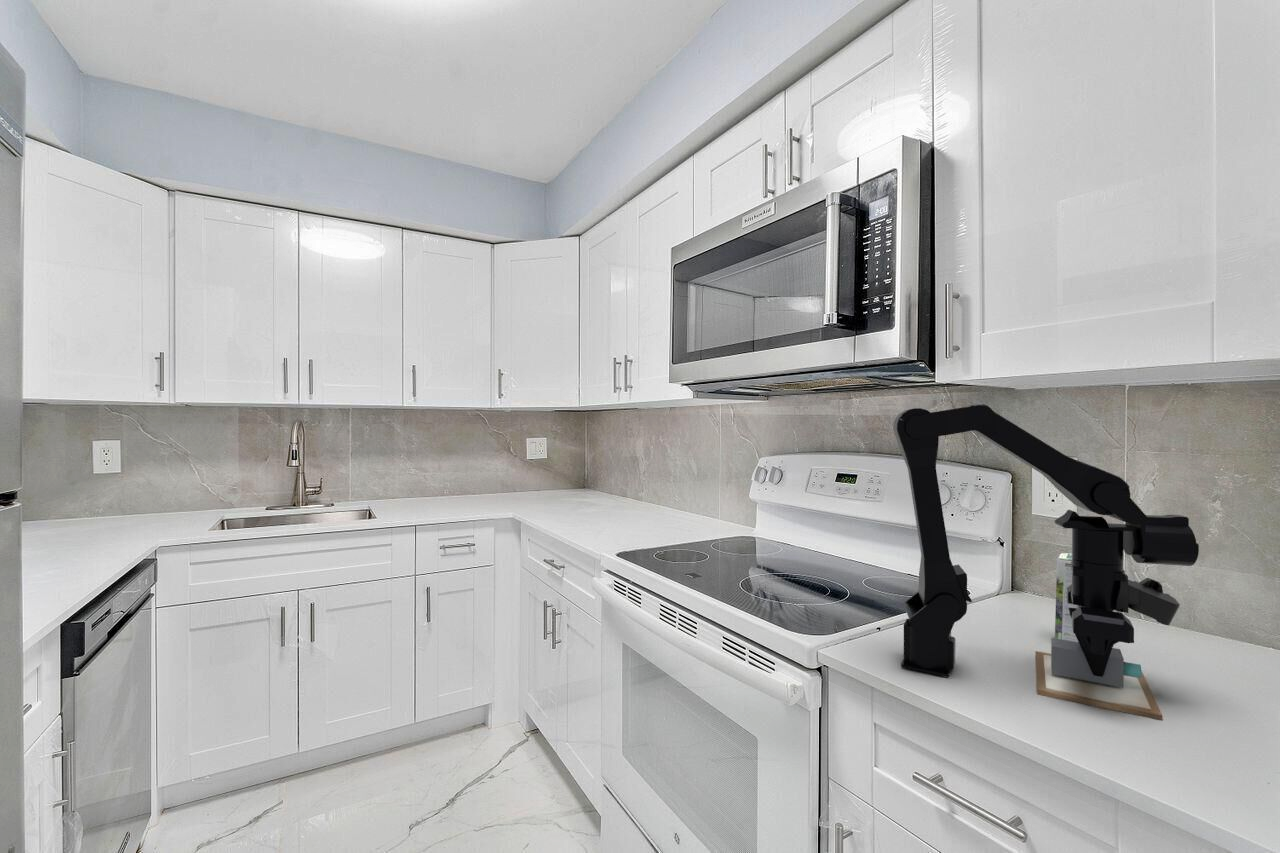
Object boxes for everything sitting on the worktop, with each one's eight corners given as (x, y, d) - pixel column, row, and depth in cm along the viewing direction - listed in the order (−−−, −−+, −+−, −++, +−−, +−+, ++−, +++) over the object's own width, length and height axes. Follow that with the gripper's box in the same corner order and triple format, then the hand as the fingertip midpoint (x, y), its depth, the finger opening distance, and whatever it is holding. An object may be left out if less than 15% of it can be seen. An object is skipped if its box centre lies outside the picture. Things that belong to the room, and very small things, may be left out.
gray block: (1051, 673, 84) (1051, 646, 84) (1051, 664, 88) (1051, 637, 88) (1142, 691, 79) (1142, 662, 79) (1138, 680, 82) (1138, 652, 82)
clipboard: (1037, 694, 81) (1037, 682, 81) (1035, 654, 94) (1035, 644, 94) (1162, 720, 74) (1162, 707, 74) (1141, 673, 87) (1141, 663, 87)
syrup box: (1057, 633, 103) (1057, 551, 103) (1100, 641, 100) (1100, 556, 99) (1054, 643, 99) (1055, 557, 99) (1099, 652, 95) (1099, 563, 95)
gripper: (1188, 584, 71) (1187, 713, 71) (1160, 554, 86) (1159, 660, 86) (1073, 571, 77) (1073, 690, 77) (1067, 545, 92) (1066, 644, 93)
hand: (1096, 670), depth 83 cm, fingers closed on gray block, 4 cm apart
